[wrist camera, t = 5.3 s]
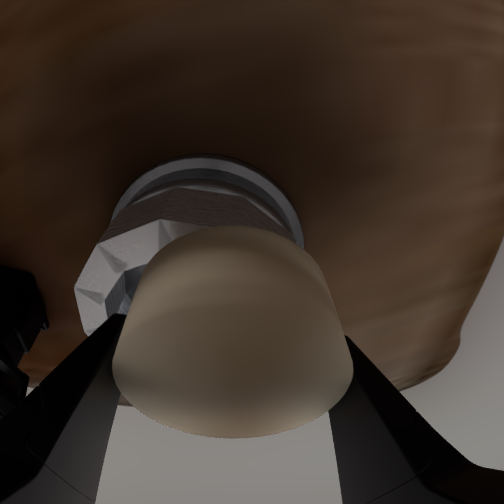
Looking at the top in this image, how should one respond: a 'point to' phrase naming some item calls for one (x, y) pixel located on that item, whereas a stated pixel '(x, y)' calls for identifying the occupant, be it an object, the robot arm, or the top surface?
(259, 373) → the lid
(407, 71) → the top surface
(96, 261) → the canister
